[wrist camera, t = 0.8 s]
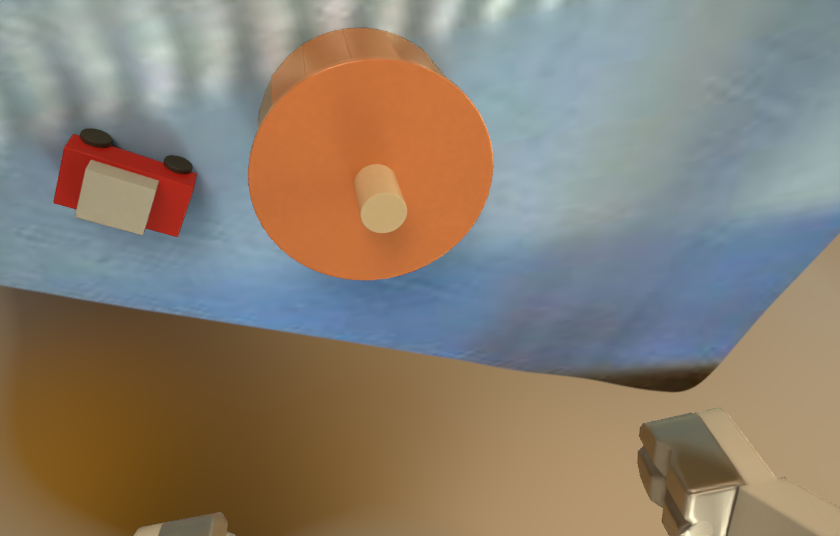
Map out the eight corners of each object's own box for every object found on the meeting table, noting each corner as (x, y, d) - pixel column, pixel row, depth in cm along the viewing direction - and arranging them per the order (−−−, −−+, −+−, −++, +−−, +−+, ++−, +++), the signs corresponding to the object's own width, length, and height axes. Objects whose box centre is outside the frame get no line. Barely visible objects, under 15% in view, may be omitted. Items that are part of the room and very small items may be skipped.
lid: (217, 233, 36) (210, 279, 32) (301, 4, 29) (305, 30, 26) (422, 292, 42) (436, 336, 39) (531, 113, 35) (561, 146, 32)
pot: (233, 177, 42) (227, 235, 36) (302, -12, 35) (308, 21, 29) (403, 232, 47) (421, 290, 41) (488, 78, 41) (524, 121, 35)
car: (64, 186, 40) (45, 218, 36) (77, 122, 37) (58, 151, 34) (181, 219, 43) (173, 252, 39) (200, 162, 40) (193, 192, 37)
